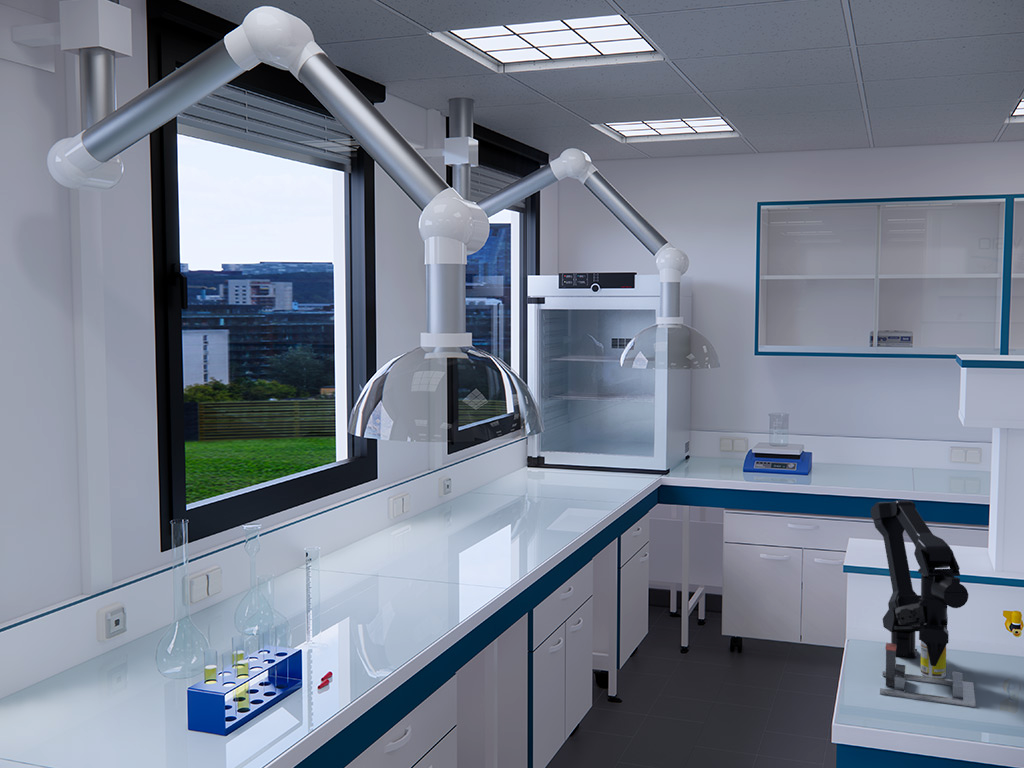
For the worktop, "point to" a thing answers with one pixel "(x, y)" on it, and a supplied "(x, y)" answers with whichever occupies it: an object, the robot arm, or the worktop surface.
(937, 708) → the worktop surface
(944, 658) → the supplement bottle
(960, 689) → the frame
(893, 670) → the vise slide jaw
